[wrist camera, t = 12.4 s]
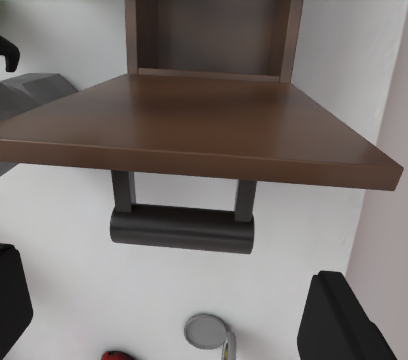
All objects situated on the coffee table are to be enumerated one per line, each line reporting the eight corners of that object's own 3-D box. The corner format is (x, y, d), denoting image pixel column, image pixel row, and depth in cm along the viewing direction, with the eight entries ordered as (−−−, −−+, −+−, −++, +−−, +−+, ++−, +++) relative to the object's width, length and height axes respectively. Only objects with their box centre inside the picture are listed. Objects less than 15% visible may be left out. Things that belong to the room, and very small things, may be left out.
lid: (-40, 136, 8) (9, 265, 11) (405, 168, 8) (349, 297, 10) (125, 73, 22) (130, 137, 25) (292, 83, 22) (280, 148, 24)
